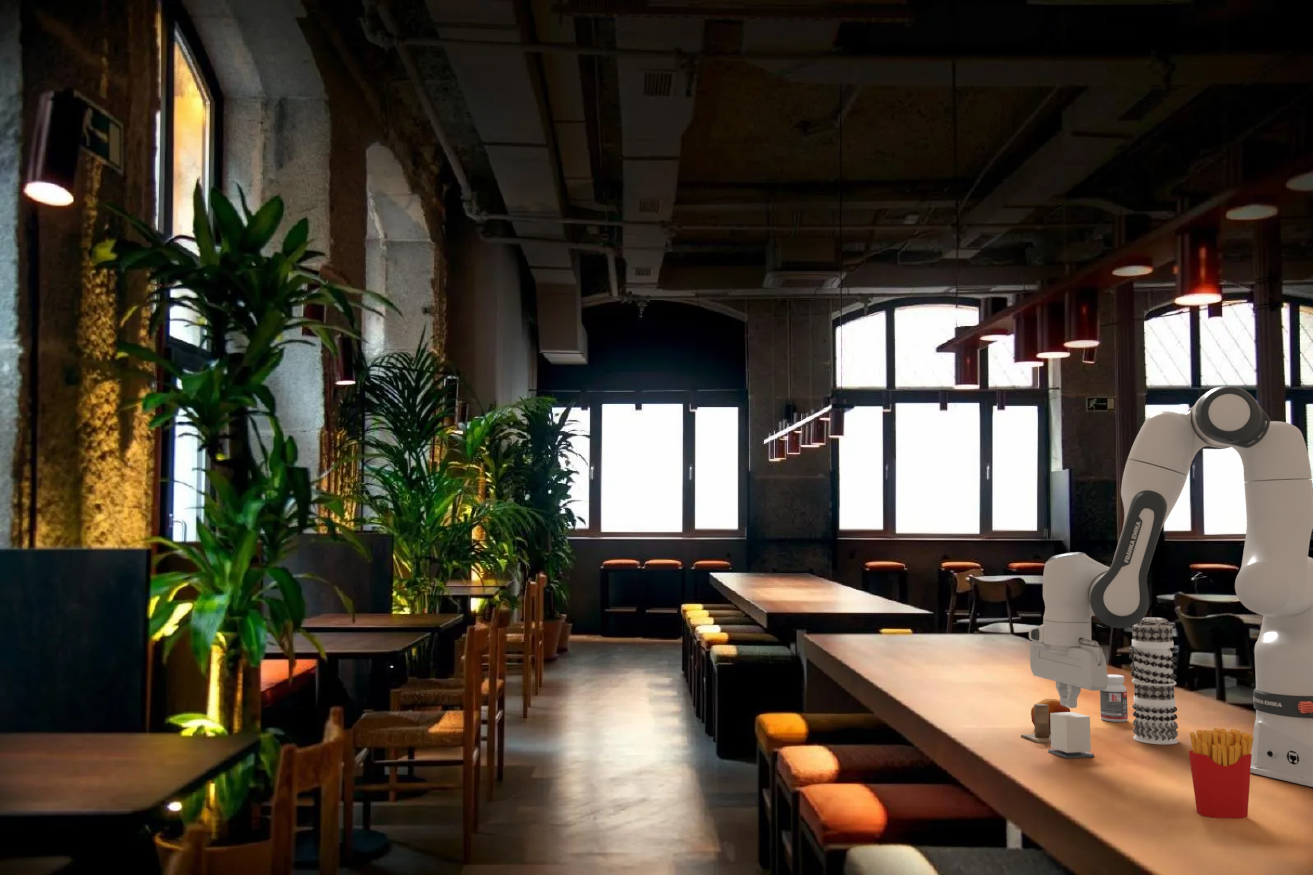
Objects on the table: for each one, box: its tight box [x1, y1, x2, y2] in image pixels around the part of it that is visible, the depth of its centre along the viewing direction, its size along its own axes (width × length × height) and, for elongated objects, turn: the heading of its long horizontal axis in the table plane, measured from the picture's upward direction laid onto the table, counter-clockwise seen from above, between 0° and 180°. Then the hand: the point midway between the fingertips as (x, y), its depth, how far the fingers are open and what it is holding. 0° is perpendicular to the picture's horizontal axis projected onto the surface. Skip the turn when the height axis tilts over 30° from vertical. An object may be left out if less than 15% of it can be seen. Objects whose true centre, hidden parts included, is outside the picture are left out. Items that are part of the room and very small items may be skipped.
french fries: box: [1188, 727, 1254, 819], centre depth 172 cm, size 9×4×13 cm, turn 85°
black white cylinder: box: [1128, 616, 1179, 745], centre depth 228 cm, size 9×9×25 cm
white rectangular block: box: [1050, 711, 1092, 753], centre depth 214 cm, size 5×5×7 cm
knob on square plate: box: [1020, 703, 1051, 744], centre depth 228 cm, size 6×6×7 cm
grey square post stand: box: [1047, 748, 1095, 760], centre depth 214 cm, size 6×6×7 cm
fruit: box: [1030, 698, 1071, 733], centre depth 237 cm, size 8×8×8 cm
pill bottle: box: [1099, 673, 1129, 723], centre depth 249 cm, size 6×6×10 cm
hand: (1068, 706), depth 215 cm, fingers closed
